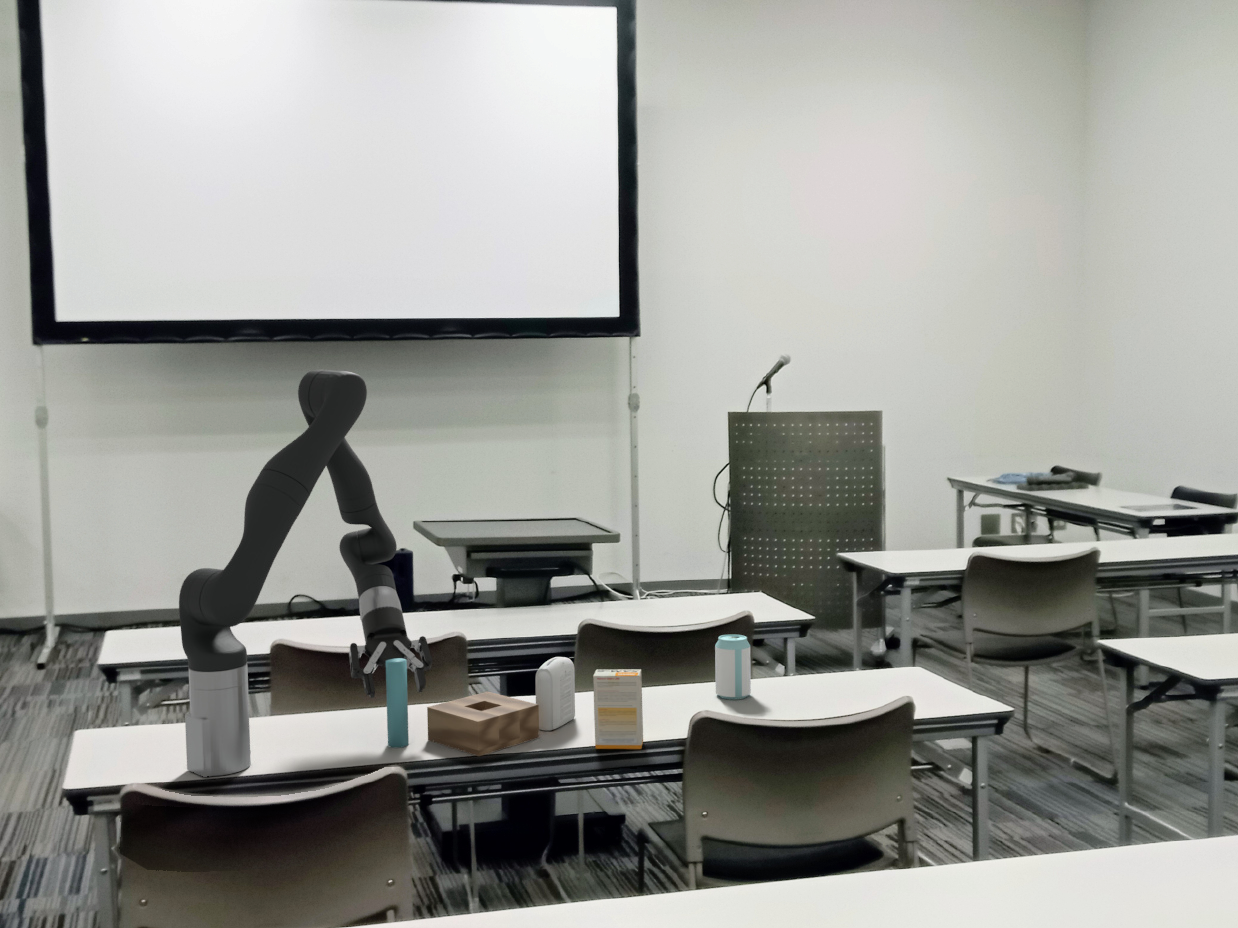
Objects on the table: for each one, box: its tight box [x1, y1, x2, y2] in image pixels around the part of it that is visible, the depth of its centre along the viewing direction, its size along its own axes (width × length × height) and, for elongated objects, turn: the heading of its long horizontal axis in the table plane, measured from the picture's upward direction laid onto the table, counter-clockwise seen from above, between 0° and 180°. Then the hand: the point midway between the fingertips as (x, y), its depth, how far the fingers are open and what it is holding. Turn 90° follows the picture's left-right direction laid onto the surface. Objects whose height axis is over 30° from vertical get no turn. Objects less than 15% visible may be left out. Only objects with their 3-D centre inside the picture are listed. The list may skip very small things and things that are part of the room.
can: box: [714, 634, 752, 700], centre depth 233 cm, size 7×7×12 cm
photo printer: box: [535, 656, 576, 732], centre depth 215 cm, size 10×4×12 cm, turn 157°
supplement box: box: [592, 668, 644, 750], centre depth 201 cm, size 8×5×13 cm, turn 84°
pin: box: [385, 658, 410, 749], centre depth 203 cm, size 4×4×15 cm
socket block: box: [426, 691, 540, 757], centre depth 206 cm, size 14×14×6 cm
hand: (397, 692), depth 203 cm, fingers open, 8 cm apart
